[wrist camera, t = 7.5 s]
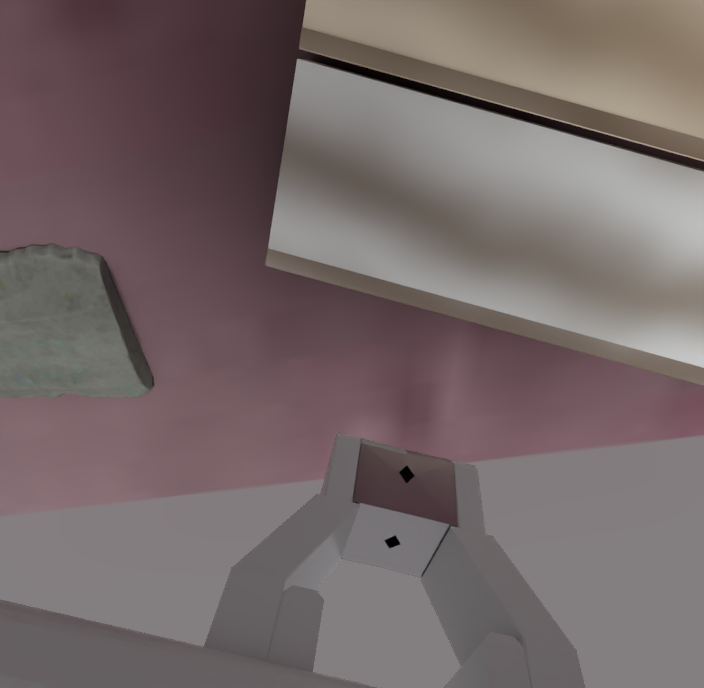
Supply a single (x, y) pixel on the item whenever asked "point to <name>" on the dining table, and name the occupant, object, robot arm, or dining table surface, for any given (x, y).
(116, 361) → the stone slab
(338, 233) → the board
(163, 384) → the dining table surface
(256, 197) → the dining table surface
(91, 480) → the dining table surface
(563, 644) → the robot arm
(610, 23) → the thin beige board
